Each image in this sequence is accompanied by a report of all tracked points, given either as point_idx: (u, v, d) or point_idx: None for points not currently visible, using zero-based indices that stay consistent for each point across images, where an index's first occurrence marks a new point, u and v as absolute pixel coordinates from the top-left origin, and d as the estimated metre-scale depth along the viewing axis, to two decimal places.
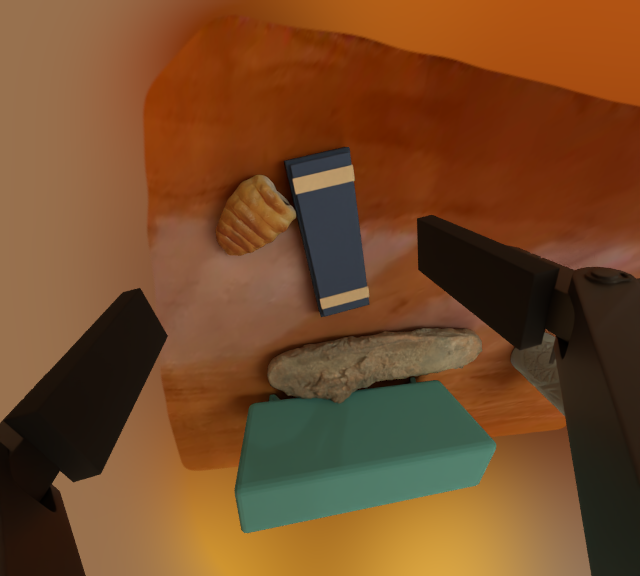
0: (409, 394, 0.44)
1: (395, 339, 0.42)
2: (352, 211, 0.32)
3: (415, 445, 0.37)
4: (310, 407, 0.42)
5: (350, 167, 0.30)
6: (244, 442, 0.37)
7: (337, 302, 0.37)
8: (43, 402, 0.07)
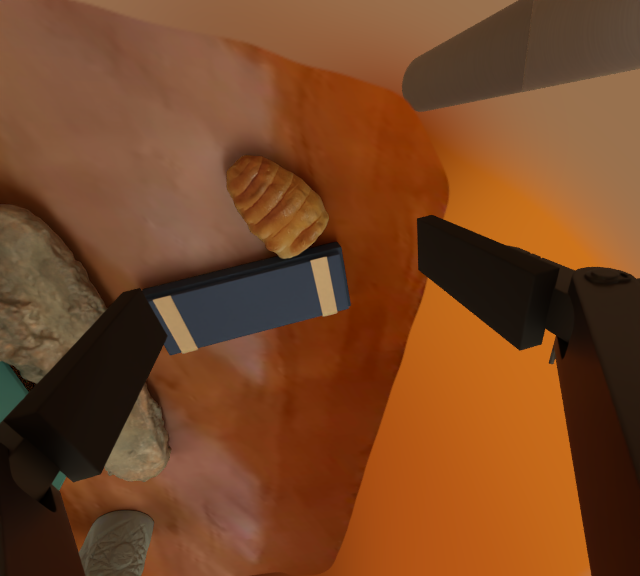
0: None
1: None
2: (291, 319, 0.30)
3: None
4: None
5: (335, 311, 0.30)
6: None
7: (167, 318, 0.27)
8: (43, 402, 0.07)
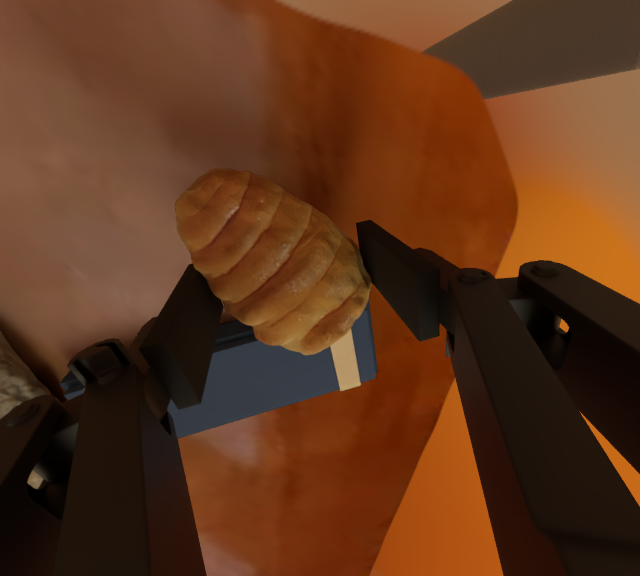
0: None
1: None
2: (295, 397, 0.21)
3: None
4: None
5: (357, 383, 0.21)
6: None
7: None
8: (166, 336, 0.08)
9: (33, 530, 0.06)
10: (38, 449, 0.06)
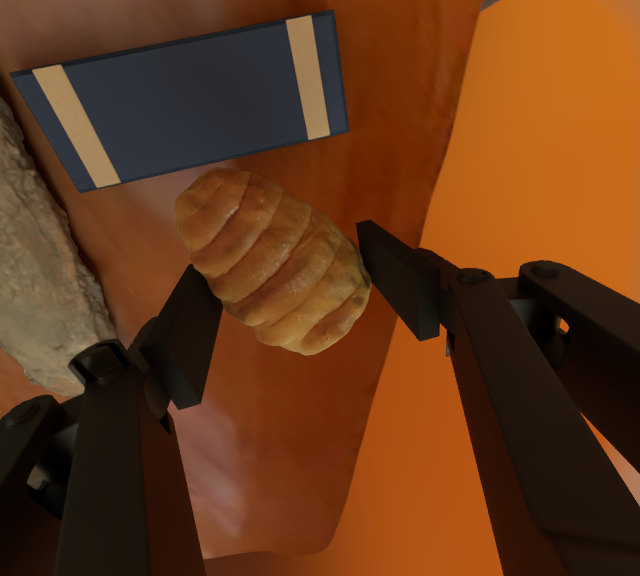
0: None
1: (52, 233, 0.20)
2: (261, 140, 0.20)
3: None
4: None
5: (326, 131, 0.20)
6: None
7: (63, 112, 0.17)
8: (166, 336, 0.08)
9: (33, 530, 0.06)
10: (38, 449, 0.06)
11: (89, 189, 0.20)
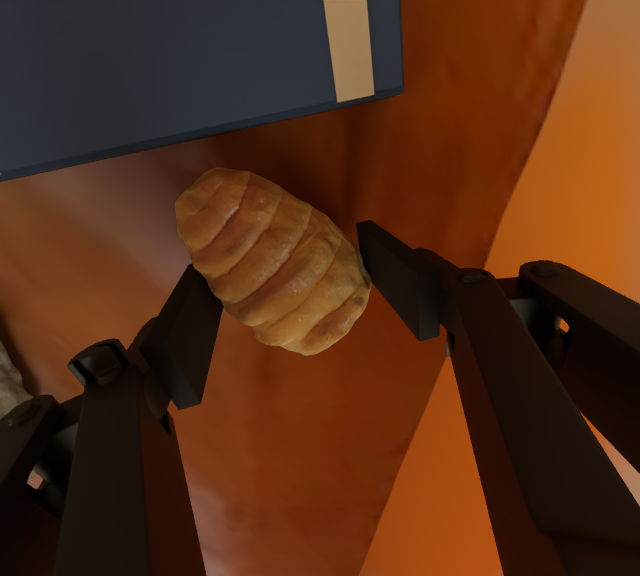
0: None
1: None
2: (254, 101, 0.11)
3: None
4: None
5: (369, 87, 0.12)
6: None
7: None
8: (166, 336, 0.08)
9: (33, 530, 0.06)
10: (38, 449, 0.06)
11: None
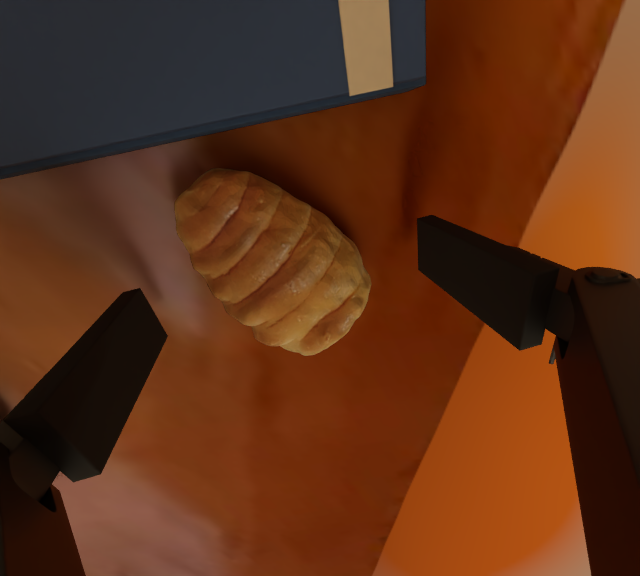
0: None
1: None
2: (251, 93, 0.09)
3: None
4: None
5: (387, 78, 0.10)
6: None
7: None
8: (43, 402, 0.07)
9: None
10: None
11: None
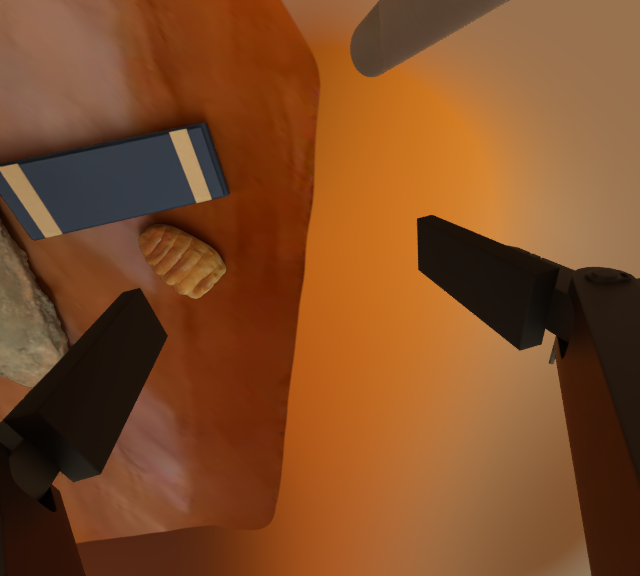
0: None
1: (14, 268, 0.29)
2: (162, 204, 0.29)
3: None
4: None
5: (208, 197, 0.30)
6: None
7: (20, 191, 0.26)
8: (43, 402, 0.07)
9: None
10: None
11: (41, 238, 0.29)
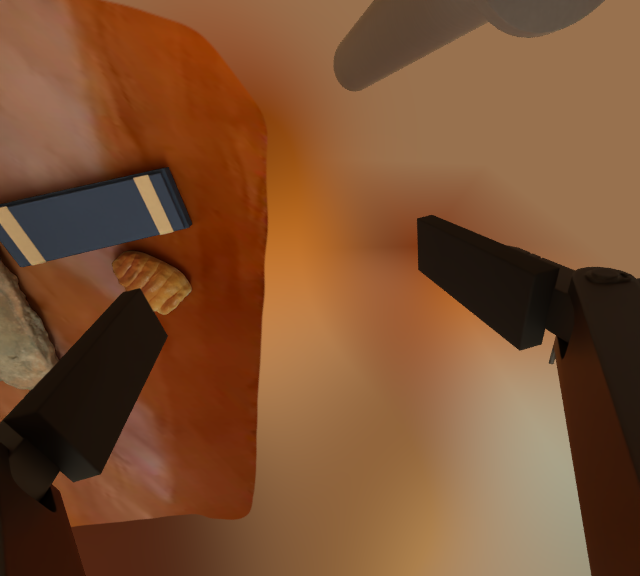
0: None
1: (6, 290, 0.34)
2: (130, 236, 0.34)
3: None
4: None
5: (171, 229, 0.34)
6: None
7: (8, 228, 0.31)
8: (43, 402, 0.07)
9: None
10: None
11: (28, 265, 0.34)
